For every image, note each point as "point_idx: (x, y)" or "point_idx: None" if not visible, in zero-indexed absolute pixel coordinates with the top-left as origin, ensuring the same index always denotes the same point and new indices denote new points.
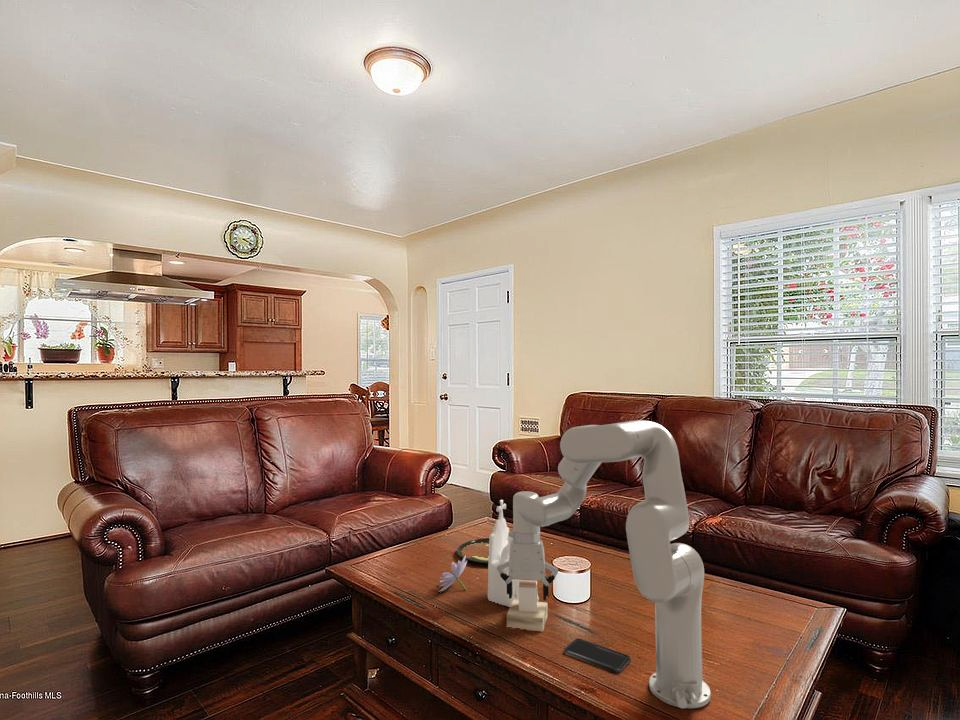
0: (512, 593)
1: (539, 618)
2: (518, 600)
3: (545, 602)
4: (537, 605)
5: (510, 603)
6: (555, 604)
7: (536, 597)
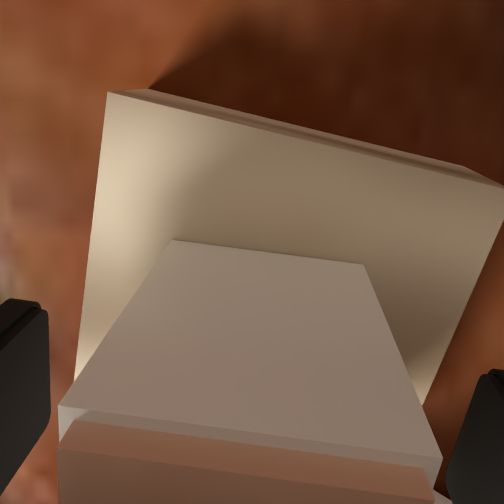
0: (448, 483)
1: (145, 99)
2: None
3: None
4: None
5: None
6: (57, 493)
7: (123, 313)
